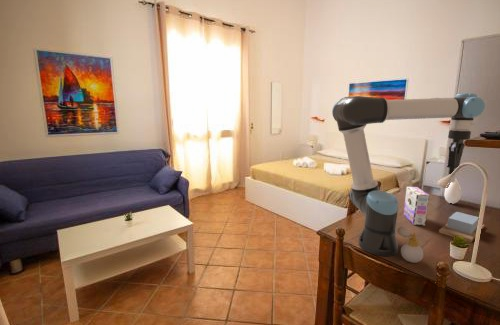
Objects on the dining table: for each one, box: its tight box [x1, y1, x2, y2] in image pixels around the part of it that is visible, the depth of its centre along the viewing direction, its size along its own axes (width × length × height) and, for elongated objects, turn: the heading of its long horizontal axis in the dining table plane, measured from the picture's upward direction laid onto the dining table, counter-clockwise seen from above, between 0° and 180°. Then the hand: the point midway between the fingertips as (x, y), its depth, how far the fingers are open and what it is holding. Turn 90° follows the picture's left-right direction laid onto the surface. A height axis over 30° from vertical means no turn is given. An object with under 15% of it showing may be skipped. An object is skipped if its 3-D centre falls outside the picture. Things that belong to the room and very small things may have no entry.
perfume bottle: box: [397, 226, 424, 264], centre depth 100 cm, size 8×10×12 cm
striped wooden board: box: [438, 222, 485, 243], centre depth 125 cm, size 24×12×1 cm, turn 128°
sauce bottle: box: [444, 176, 462, 205], centre depth 156 cm, size 8×8×18 cm
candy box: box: [403, 186, 430, 226], centre depth 134 cm, size 14×6×16 cm, turn 168°
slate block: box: [447, 211, 480, 235], centre depth 124 cm, size 5×9×12 cm
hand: (450, 181), depth 118 cm, fingers closed
